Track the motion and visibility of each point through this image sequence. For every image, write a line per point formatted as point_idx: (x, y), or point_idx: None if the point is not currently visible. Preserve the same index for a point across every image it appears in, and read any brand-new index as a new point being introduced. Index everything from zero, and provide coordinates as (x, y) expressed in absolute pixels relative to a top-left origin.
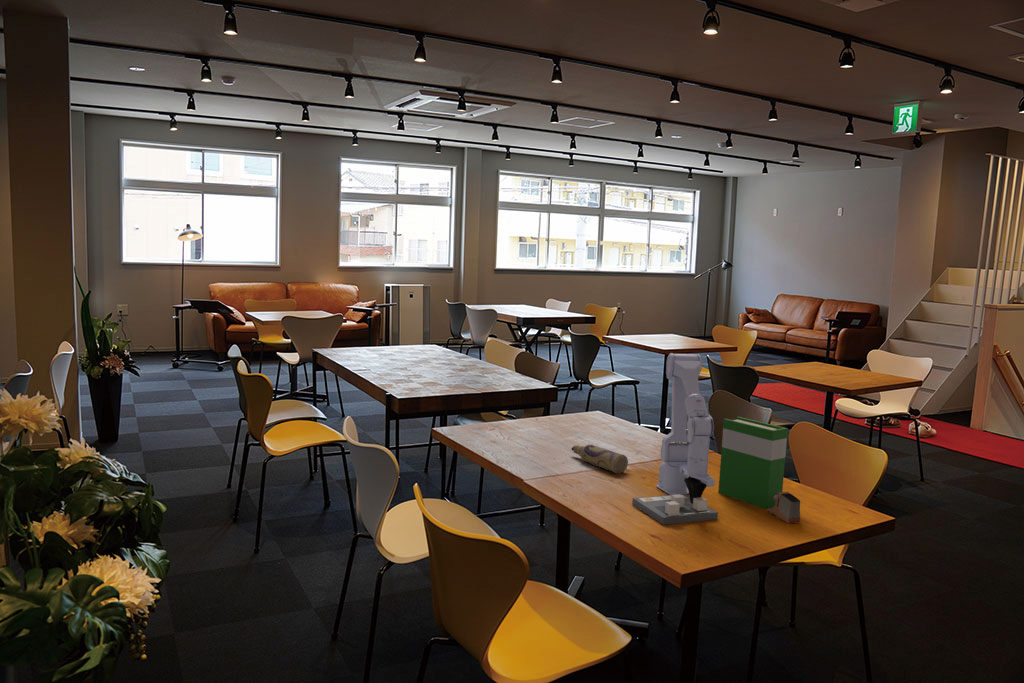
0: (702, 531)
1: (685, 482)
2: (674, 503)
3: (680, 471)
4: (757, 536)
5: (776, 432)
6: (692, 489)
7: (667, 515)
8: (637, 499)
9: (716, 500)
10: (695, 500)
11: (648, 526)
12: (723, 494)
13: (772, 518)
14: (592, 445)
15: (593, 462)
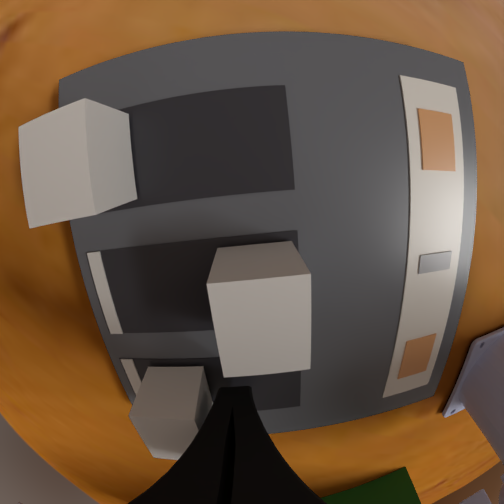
0: (12, 269)
1: (307, 497)
2: (40, 181)
3: (476, 499)
4: (28, 408)
5: None
6: (185, 473)
7: None
8: (440, 67)
9: (359, 461)
10: (167, 410)
11: (86, 14)
12: (387, 475)
13: None
14: None
15: None
